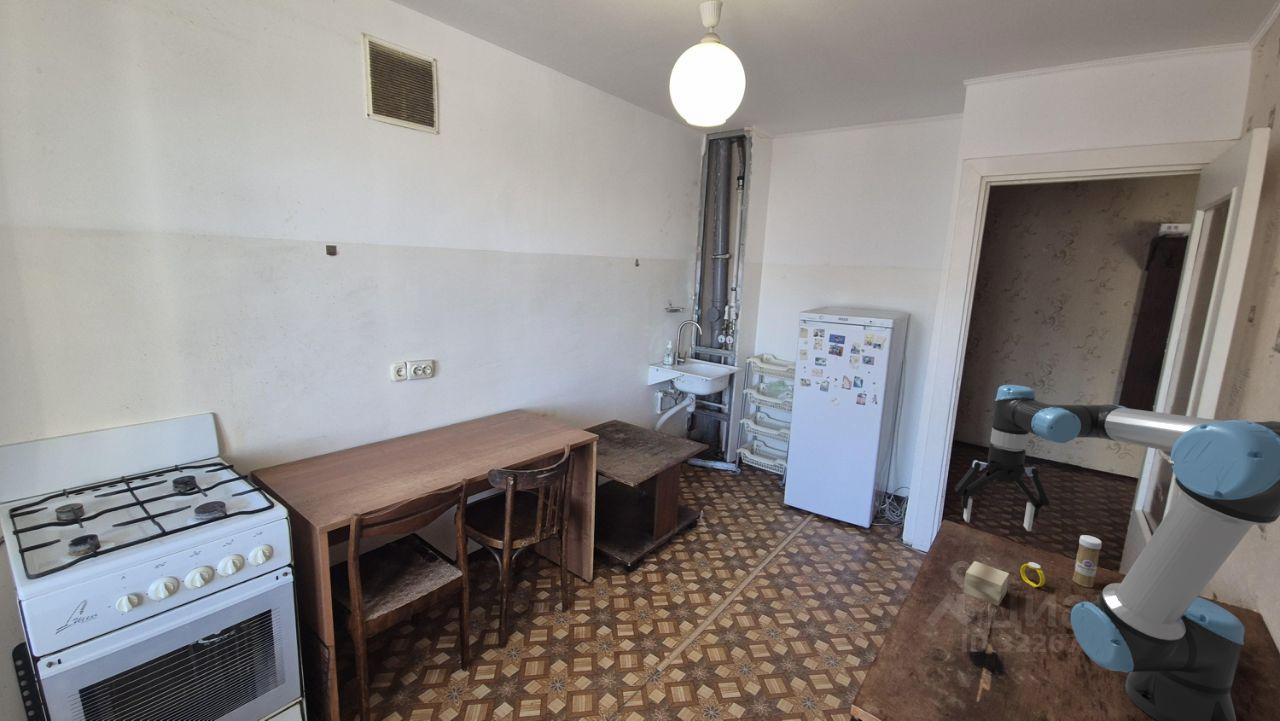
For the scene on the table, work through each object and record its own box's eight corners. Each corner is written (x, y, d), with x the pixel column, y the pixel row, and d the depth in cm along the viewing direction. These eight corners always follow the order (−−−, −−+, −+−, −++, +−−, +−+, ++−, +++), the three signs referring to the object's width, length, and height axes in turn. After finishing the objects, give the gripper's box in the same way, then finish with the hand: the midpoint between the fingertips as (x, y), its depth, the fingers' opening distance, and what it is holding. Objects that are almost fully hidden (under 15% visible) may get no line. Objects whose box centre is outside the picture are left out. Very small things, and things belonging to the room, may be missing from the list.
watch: (1044, 590, 140) (1049, 571, 138) (1036, 591, 139) (1041, 572, 138) (1024, 576, 145) (1028, 558, 144) (1016, 577, 145) (1020, 559, 143)
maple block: (1006, 593, 138) (1009, 573, 137) (998, 606, 132) (1001, 585, 131) (971, 580, 144) (974, 560, 143) (963, 592, 138) (965, 572, 137)
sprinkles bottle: (1076, 586, 141) (1084, 541, 139) (1069, 576, 146) (1077, 533, 143) (1097, 589, 140) (1105, 544, 137) (1089, 580, 144) (1097, 536, 142)
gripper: (1060, 447, 129) (1047, 525, 133) (948, 436, 137) (938, 510, 141) (1074, 457, 122) (1060, 539, 126) (955, 445, 130) (945, 522, 134)
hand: (996, 524), depth 133 cm, fingers open, 13 cm apart
